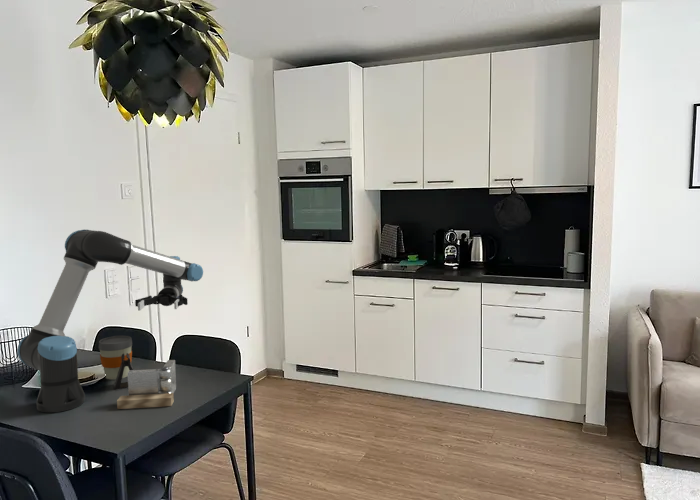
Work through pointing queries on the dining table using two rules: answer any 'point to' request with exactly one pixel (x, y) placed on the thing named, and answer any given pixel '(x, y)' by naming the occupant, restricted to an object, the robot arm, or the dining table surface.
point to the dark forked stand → (120, 373)
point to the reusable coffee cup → (114, 354)
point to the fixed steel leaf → (147, 381)
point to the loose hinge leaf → (169, 383)
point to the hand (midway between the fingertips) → (157, 306)
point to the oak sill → (145, 401)
